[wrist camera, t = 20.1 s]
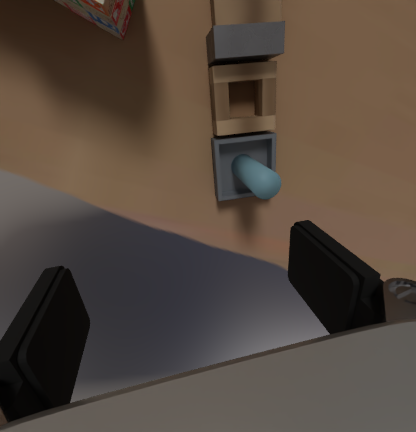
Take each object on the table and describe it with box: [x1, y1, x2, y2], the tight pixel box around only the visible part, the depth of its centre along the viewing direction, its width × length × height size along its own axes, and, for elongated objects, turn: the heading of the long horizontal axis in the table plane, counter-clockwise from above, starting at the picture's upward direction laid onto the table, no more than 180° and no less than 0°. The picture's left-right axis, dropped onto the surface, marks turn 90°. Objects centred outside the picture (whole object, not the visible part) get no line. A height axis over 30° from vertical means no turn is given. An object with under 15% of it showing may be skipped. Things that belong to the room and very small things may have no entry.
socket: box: [208, 61, 277, 136], centre depth 34 cm, size 8×8×3 cm
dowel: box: [231, 154, 281, 199], centre depth 34 cm, size 3×3×10 cm
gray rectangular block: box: [206, 21, 285, 65], centre depth 30 cm, size 8×3×5 cm, turn 95°
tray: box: [211, 131, 276, 201], centre depth 38 cm, size 9×9×2 cm
